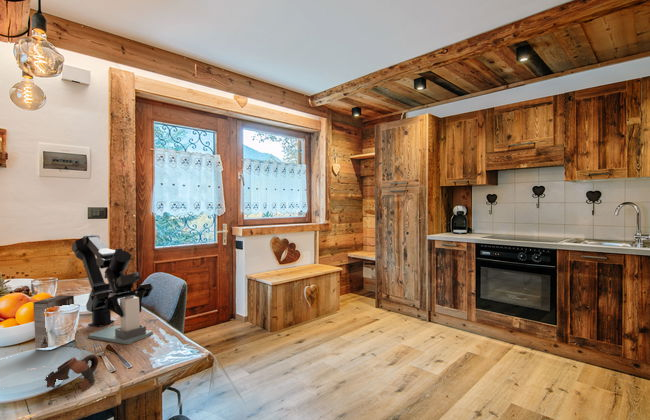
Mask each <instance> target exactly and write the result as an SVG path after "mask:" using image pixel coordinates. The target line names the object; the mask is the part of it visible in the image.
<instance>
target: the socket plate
mask: <svg viewBox="0 0 650 420" xmlns="http://www.w3.org/2000/svg"><path fill="white" fill-rule="evenodd" d="M153 334H154V331H153V330H147V327H146V325H143V324H141V323H140V328H137V329H134V330H130V331H127V332H124V331H122V330H121V325H112V326H109V327H107V328H103V329H101V330H99V331H95V332H93V333H90V334H88V335H87V338H88V339H91V340H92V339H93V340H100V341H105V342H110V343H117V344H122V345H130V344H133V343H135V342H138V341H139V340H142V339H144V338H146V337H150V336H152V335H153Z"/></svg>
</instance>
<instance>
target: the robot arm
mask: <svg viewBox="0 0 650 420" xmlns="http://www.w3.org/2000/svg"><path fill="white" fill-rule="evenodd" d="M100 238H101V237H100V236H99V234H98V235H97V234H88V235H87V234H86V235H84V236H82V238H78V239H76V240H75V241H73V243H72V244H71V252H73V254H74V255H75V257H76V258H77V259H79V260H81V262H82V264H83V267H84V271H85V273H86V276H87V278H88V282H89V284H90V288H91V291H90V293H89V296H88V299H87V302H86V305H85V307H86V311H88V312H91V323H88V324H87V325H88V326H91V327H97V328H100V327H103V326H105V325H106V326H107V325H109V324H112V323H114V322H115V320H113V319H112V318H111V317H112V316H111V314H112V312H113V313H114V314H116V315H118V317H123V316H124V315H123V311H122V309H121V307H120V302H119V301H118V299H119V300H120V299H121V298H125V297H128V296H135V297H139V312H140V313H141V312H142V301H143V300H142V299H144V298H148V297H149V296H150V294H151V293H152V291H153V288H154V286H153V285H152V284H151V283H150V282H148V283H142V284H141V283H140V284H139V285H138V288H135V289H133V288H134V284H135V283H137V282H139V280H141V274H140V272H139V271H133V272H131V273H128V274H126V273H125V272H124V271H125V270H127V268H128V266H129V263H130V261H131V259H132V254H131V253H129V252H128V251H126V250H123V248H116V249H111V248H109V247H108V246H107V245H106V244H105V243H104V242H103V240H101V239H100ZM101 269H105V270H104V276H103V274H102V271H101ZM105 279H107V281H108V282H107V283H106V282H105ZM111 311H112V312H111Z"/></svg>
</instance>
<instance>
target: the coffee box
mask: <svg viewBox="0 0 650 420" xmlns="http://www.w3.org/2000/svg"><path fill="white" fill-rule="evenodd" d="M74 298H75V296H74V295H73V294H72V295H67V294H65V295H63V294H62V295H61V294H60V295H56V296H55V295H54V296H52V297H47V298H44V299H40V300H37V301H34V302H32V304H33V318H34V319H33V320H34V324H33V325H34V335H35V336H34V338H35V339H34V340H35V344H34V345H35V349H36V348H46V347H48V337H47V332H46V328H45V314H44V310H45V309H47V308H50V307H54V306H62V305H70V304H74V305H75V299H74ZM76 334H77V333H75V341H76V340H77V338H76Z"/></svg>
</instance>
